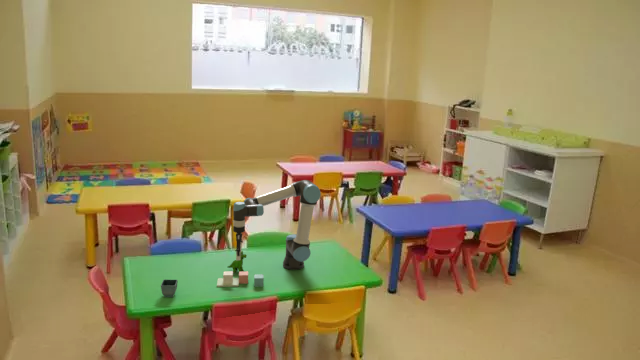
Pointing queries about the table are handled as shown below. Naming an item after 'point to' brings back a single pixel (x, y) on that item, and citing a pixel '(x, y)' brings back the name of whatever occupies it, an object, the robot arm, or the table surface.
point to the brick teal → (258, 280)
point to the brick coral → (243, 277)
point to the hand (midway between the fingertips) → (238, 256)
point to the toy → (238, 263)
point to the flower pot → (169, 287)
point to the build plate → (235, 283)
